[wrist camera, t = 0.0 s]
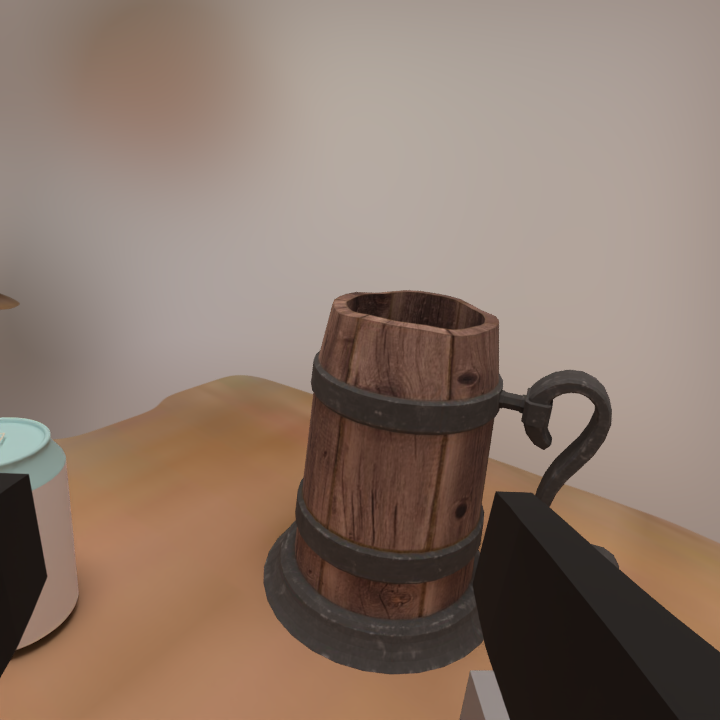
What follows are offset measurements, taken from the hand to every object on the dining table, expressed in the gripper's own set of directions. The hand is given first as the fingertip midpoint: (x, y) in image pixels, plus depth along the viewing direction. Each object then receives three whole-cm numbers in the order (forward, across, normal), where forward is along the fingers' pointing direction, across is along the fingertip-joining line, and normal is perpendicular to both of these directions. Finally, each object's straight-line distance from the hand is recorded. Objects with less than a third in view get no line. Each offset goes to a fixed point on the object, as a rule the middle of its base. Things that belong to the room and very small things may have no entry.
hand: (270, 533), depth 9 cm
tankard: (+21, -10, +24) cm, 33 cm away
